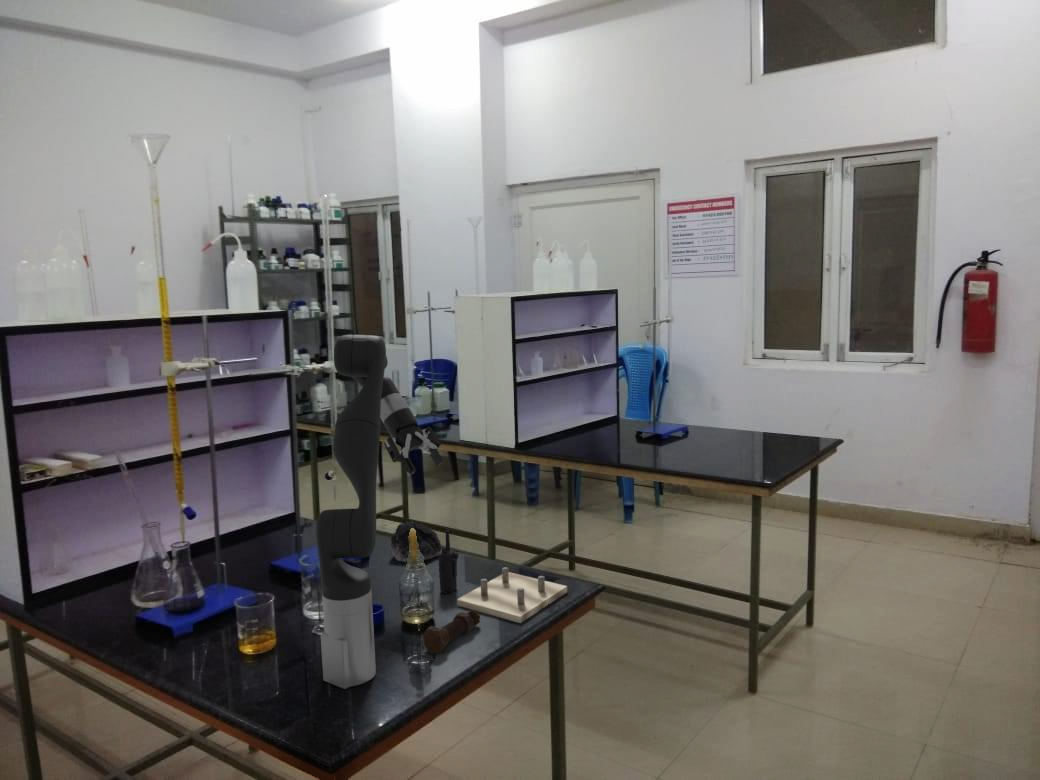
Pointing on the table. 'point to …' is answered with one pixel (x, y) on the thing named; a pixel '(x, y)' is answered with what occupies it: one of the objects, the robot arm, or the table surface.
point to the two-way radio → (448, 567)
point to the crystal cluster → (425, 538)
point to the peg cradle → (512, 596)
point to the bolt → (449, 631)
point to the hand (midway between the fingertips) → (426, 468)
